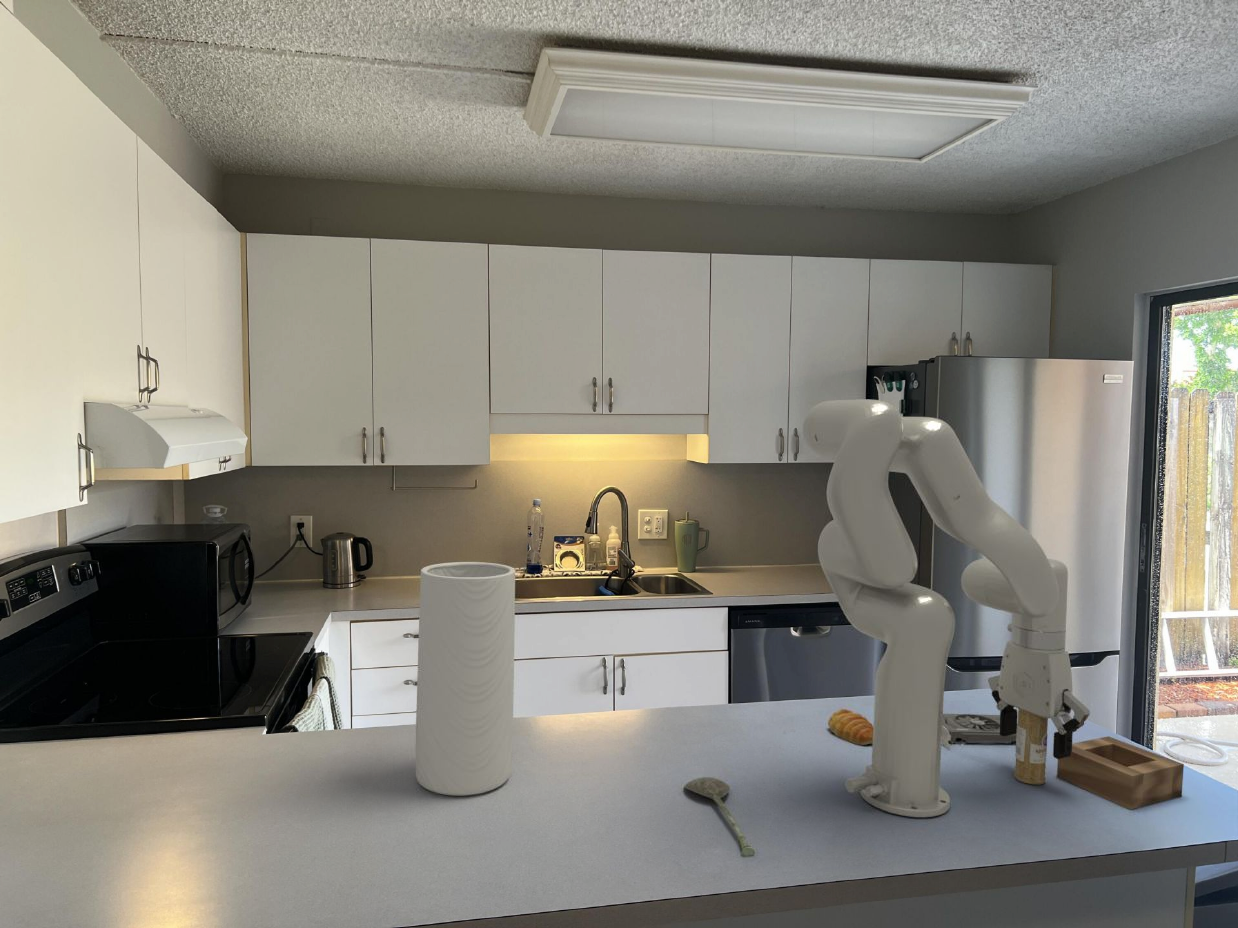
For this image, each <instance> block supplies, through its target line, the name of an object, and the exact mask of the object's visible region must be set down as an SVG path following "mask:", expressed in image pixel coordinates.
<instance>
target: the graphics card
mask: <svg viewBox="0 0 1238 928" xmlns="http://www.w3.org/2000/svg"><path fill="white" fill-rule="evenodd" d="M1016 735H1017V733H1016V734H1013V735H1008V736H1001V735H1000V714H970V713H968V714H967V713H943V721H942V741H941V745H943V746H944V747H945V748H946V749H947V748H948V749H949V750H948V749H947V750H948V751H951V747H952V746H951V745H950V743H951V744H952V743H958V744H960V745H962V744H964V745H966V744H1011V742H1016ZM960 738H961V739H960ZM957 739H960V740H959V741H957ZM949 742H950V743H949Z"/></svg>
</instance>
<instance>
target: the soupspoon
mask: <svg viewBox="0 0 1238 928" xmlns="http://www.w3.org/2000/svg"><path fill="white" fill-rule="evenodd" d="M683 788H684V789H687V790H689V791H690V792H691V791H692V792H693V793H696V794H699V795H701V796H704V797H707V798H708V799H711V800H713V801H714V802H715V804H716V805H718V807H719V808H720V810H721V811H722V812H723V814H724V816H725V817H726V818H727V820H728V822H729V823H730V825H731V827H732V828H733V830H734V832H735V833H736V835H737V836H738V838H737V840H738V841H739V845H740V847H741V851H740V855H741V856H742V857H751V856H754V855H755V853H756V852H755V849H754V848H753V847H751V846H750V845H749V844H748V841H747V840H746V836H745V835H743V833H742V831H741V829H740V827H739V825H738V824H737V822H736V821H735V819H734V817H733V816H732V814H731V813H730V810H729V809H728V808H727V805H725V803H724V802H723V801H722V798H723V797H725V796H726V795H727V794H728V793H729V791H730V789H731V787H730V785H729V784H728V783H726V782H725V781H723V780H721V779H718V778H716V777H709V776H708V777H704V776H703V777H699V778H698V777H697V778H694V779H692V780H690V781H689V782H687V783H685V784H684V786H683Z"/></svg>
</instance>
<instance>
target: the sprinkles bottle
mask: <svg viewBox="0 0 1238 928" xmlns="http://www.w3.org/2000/svg"><path fill="white" fill-rule="evenodd" d="M1048 721H1049V718H1043V717H1040V716H1037V715H1034V714H1032V713H1029V712H1027V711H1025V710H1022V709H1017V735H1016V740H1015V754H1014V755H1015V756H1014V757H1015V766H1014V767H1015V769H1014V773H1013V777H1014V778H1016V779H1017V780H1018V781H1019V782H1022V783H1024V784H1028V785H1042V784H1044V783H1046V762H1047V752H1048V751H1047V750H1048V749H1047V748H1048V723H1049V722H1048Z"/></svg>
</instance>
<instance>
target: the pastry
mask: <svg viewBox="0 0 1238 928" xmlns="http://www.w3.org/2000/svg"><path fill="white" fill-rule="evenodd" d="M827 723H828V727H829V729H830V731H831V733H833V734H834V735H835V736H837V737H838V738H840V739H842V740H844V741H847V742H849V743H852V744H857V745H859V746H863V745H864V746H865V745H868V744H869V745H870V744H873V724H872V723H871V722H870V721H869V720H868V719H867V717H865V716H863V715H862V714H861V713H858V712H856V713H855V712H853V711H852V710H849V709H847V708H844V709H842V708H841V709H838V710H837V711H835V712H834V713H832V715H831V716H830V718H829V719H828V721H827Z"/></svg>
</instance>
